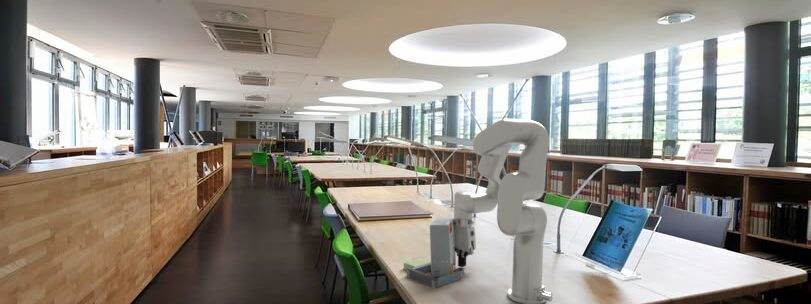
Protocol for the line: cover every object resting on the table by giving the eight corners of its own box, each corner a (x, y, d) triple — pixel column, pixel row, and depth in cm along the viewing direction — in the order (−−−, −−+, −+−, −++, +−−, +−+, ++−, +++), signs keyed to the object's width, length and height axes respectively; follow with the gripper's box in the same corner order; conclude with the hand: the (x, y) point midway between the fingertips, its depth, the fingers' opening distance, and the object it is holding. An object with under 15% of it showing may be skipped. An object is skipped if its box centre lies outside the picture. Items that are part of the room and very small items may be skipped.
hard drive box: (451, 278, 143) (448, 225, 142) (431, 277, 145) (428, 225, 144) (456, 265, 158) (454, 217, 157) (438, 264, 160) (435, 217, 159)
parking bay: (461, 278, 144) (461, 270, 144) (434, 288, 135) (435, 279, 134) (433, 267, 155) (433, 260, 155) (406, 276, 146) (406, 268, 146)
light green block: (433, 268, 155) (433, 261, 155) (415, 274, 149) (415, 266, 149) (421, 264, 161) (421, 257, 161) (403, 269, 154) (403, 262, 154)
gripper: (483, 223, 152) (482, 269, 153) (455, 217, 163) (454, 259, 164) (471, 226, 147) (470, 273, 148) (443, 219, 158) (442, 263, 159)
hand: (462, 266), depth 156 cm, fingers closed
